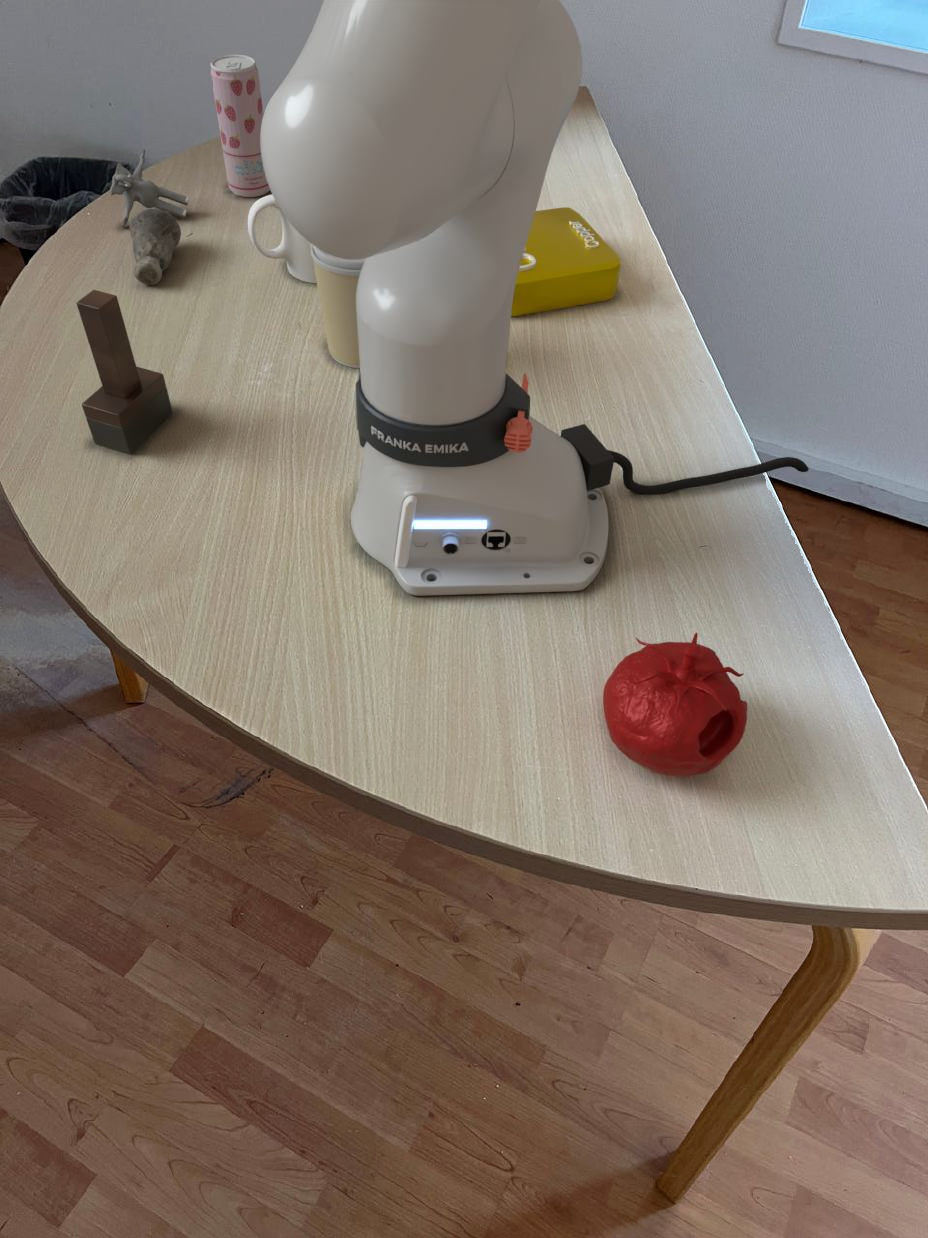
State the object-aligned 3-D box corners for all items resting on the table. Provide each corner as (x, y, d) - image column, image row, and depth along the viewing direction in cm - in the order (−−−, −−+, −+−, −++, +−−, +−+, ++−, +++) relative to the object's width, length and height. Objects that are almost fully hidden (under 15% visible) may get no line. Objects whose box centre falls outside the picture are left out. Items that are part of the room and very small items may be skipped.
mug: (268, 296, 105) (255, 205, 97) (246, 263, 109) (231, 173, 101) (366, 274, 108) (361, 184, 100) (341, 243, 113) (334, 155, 105)
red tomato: (579, 767, 65) (597, 688, 58) (615, 663, 71) (636, 581, 64) (719, 814, 63) (755, 738, 56) (743, 703, 69) (779, 622, 62)
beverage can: (238, 201, 119) (218, 73, 108) (222, 183, 122) (201, 57, 111) (279, 192, 121) (264, 66, 110) (263, 175, 124) (246, 50, 113)
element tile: (622, 299, 106) (629, 259, 103) (500, 320, 103) (503, 280, 99) (568, 238, 116) (573, 200, 112) (455, 255, 112) (456, 216, 108)
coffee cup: (427, 348, 99) (426, 239, 90) (362, 384, 94) (355, 274, 85) (367, 314, 103) (361, 207, 94) (302, 347, 98) (289, 238, 89)
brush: (138, 402, 91) (102, 274, 81) (173, 412, 90) (140, 284, 80) (94, 443, 87) (50, 313, 77) (130, 454, 86) (90, 324, 76)
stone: (162, 298, 105) (201, 238, 104) (119, 268, 102) (158, 205, 101) (147, 280, 113) (182, 223, 111) (106, 251, 109) (142, 193, 108)
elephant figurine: (176, 239, 113) (99, 211, 110) (177, 254, 118) (104, 228, 116) (198, 160, 113) (122, 130, 110) (198, 180, 119) (125, 152, 116)
